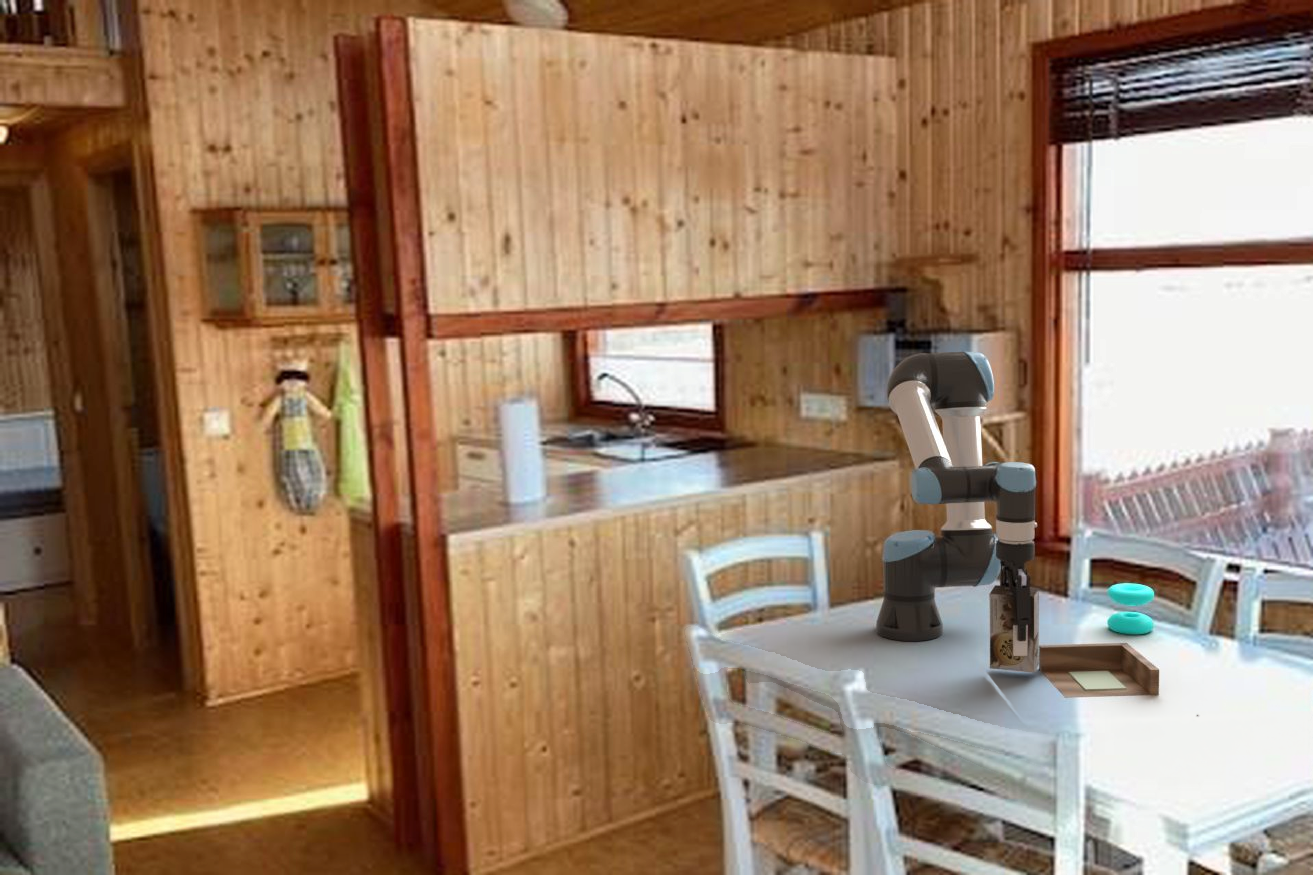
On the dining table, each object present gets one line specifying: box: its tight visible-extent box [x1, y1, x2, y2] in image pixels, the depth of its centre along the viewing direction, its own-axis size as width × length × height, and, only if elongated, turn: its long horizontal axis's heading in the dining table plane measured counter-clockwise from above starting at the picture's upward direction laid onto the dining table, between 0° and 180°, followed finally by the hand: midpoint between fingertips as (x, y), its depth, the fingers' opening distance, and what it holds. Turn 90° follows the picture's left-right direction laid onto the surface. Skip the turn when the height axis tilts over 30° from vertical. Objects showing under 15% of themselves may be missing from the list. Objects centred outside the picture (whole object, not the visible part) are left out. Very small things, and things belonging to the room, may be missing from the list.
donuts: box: [1106, 582, 1155, 635], centre depth 297 cm, size 10×10×10 cm
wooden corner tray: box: [1038, 642, 1160, 698], centre depth 259 cm, size 18×18×6 cm
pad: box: [1068, 671, 1127, 691], centre depth 260 cm, size 11×8×1 cm
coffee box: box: [989, 584, 1040, 673], centre depth 264 cm, size 9×6×16 cm
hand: (1014, 648), depth 265 cm, fingers closed on coffee box, 8 cm apart
